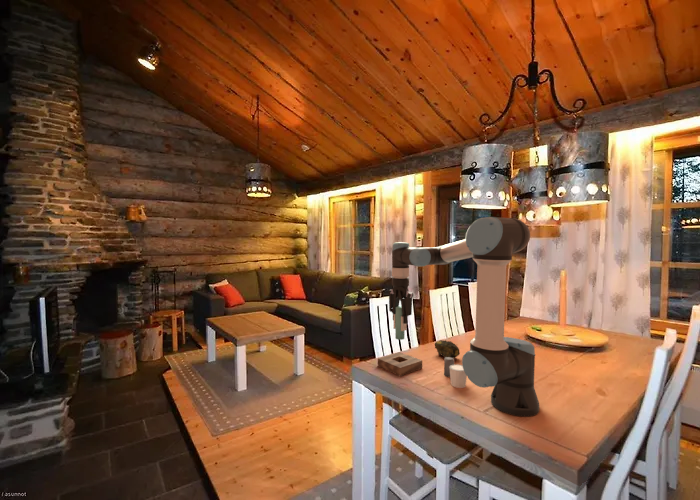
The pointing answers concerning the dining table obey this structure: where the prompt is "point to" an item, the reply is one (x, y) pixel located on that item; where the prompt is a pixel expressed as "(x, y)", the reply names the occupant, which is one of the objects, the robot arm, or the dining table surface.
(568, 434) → the dining table surface
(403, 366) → the hole block
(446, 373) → the short dowel
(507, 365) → the robot arm
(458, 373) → the shot glass
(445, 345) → the rock
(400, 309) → the long dowel
